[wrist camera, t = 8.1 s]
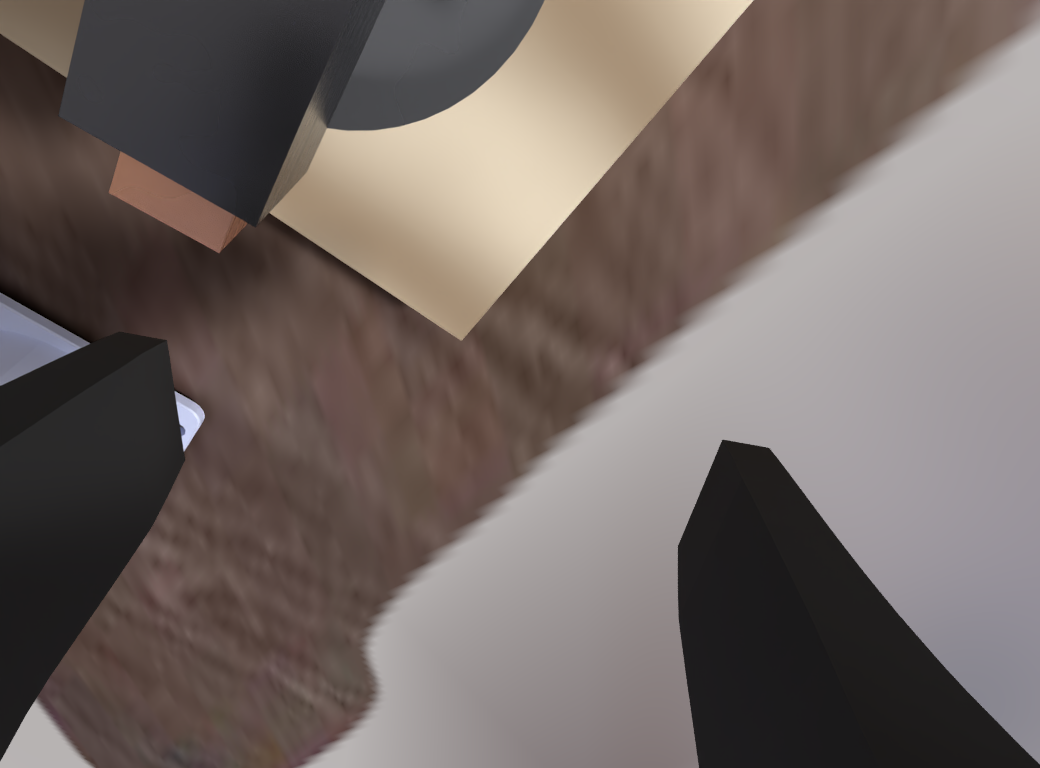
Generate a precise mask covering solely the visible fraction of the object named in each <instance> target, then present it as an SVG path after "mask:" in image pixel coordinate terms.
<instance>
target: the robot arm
mask: <svg viewBox="0 0 1040 768" xmlns="http://www.w3.org/2000/svg"><path fill="white" fill-rule="evenodd" d="M204 417H205V415H204V411H203V410H202V409H201V407H200V406H199V405H198V404H196V403H195V402H193V401H191V400H190V399H188V398H186V397H184V396H183V395H181V394H179V393H177V392H176V391H175V390H174V384H173V377H172V371H171V364H170V358H169V351H168V345H167V340H162V339H157V338H151V337H146V336H140V335H134V334H129V333H123V332H118V333H115V334H113V335H110V336H108V337H105V338H103V339H100V340H98V341H96V342H93V343H91V344H90V343H89V342H87V341H85V340H83V339H82V338H80V337H78V336H76V335H75V334H73V333H71V332H69V331H67V330H66V329H64V328H62V327H60V326H59V325H57V324H55V323H53V322H52V321H50V320H48V319H46V318H44V317H43V316H41V315H39V314H37V313H36V312H34V311H32V310H30V309H28V308H27V307H25V306H23V305H21V304H20V303H18V302H16V301H14V300H13V299H11V298H9V297H7V296H5V295H4V294H2V293H0V761H1V759H2V757H3V755H4V754H5V752H6V750H7V748H8V746H9V745H10V742H11V741H12V739H13V737H14V735H15V734H16V732H17V730H18V728H19V726H20V724H21V722H22V721H23V719H24V717H25V715H26V714H27V712H28V711H29V709H30V707H31V706H32V704H33V703H34V701H35V699H36V698H37V696H38V695H39V693H40V692H41V690H42V688H43V687H44V685H45V684H46V682H47V680H48V679H49V677H50V676H51V674H52V673H53V671H54V670H55V668H56V667H57V666H58V664H59V663H60V661H61V660H62V658H63V657H64V655H65V654H66V652H67V651H68V649H69V648H70V647H71V645H72V644H73V642H74V641H75V639H76V638H77V636H78V635H79V633H80V632H81V631H82V629H83V628H84V626H85V625H86V623H87V622H88V620H89V619H90V617H91V616H92V614H93V613H94V612H95V610H96V609H97V607H98V606H99V604H100V603H101V601H102V600H103V598H104V597H105V596H106V594H107V593H108V591H109V590H110V588H111V587H112V585H113V584H114V582H115V581H116V580H117V578H118V577H119V575H120V574H121V572H122V571H123V569H124V568H125V566H126V565H127V563H128V562H129V560H130V559H131V557H132V556H133V554H134V553H135V551H136V550H137V548H138V547H139V545H140V544H141V542H142V541H143V539H144V538H145V536H146V535H147V533H148V532H149V530H150V529H151V527H152V525H153V524H154V522H155V520H156V518H157V516H158V514H159V512H160V510H161V508H162V506H163V504H164V502H165V500H166V498H167V497H168V494H169V492H170V490H171V488H172V486H173V484H174V482H175V480H176V478H177V476H178V473H179V471H180V469H181V467H182V465H183V463H184V461H185V456H184V451H185V449H186V448H187V446H188V444H189V443H190V441H191V440H192V438H193V437H194V435H195V434H196V432H197V430H198V429H199V427H200V426H201V424H202V423H203V421H204ZM180 425H181V426H183V427H184V428H182V427H180ZM678 607H679V624H680V632H681V640H682V648H683V655H684V662H685V670H686V678H687V685H688V692H689V698H690V706H691V713H692V720H693V727H694V734H695V741H696V749H697V755H698V763H699V768H1040V764H1038V762H1037V761H1035V760H1034V759H1033V758H1032V757H1031V756H1030V755H1029V754H1028V753H1027V752H1026V751H1025V750H1024V749H1023V748H1022V747H1021V746H1020V745H1019V744H1018V743H1017V742H1016V741H1015V740H1014V739H1013V738H1012V737H1011V736H1010V735H1009V734H1008V733H1007V732H1006V731H1005V730H1004V729H1003V728H1002V727H1001V726H1000V725H999V724H998V722H997V721H995V720H994V718H993V717H992V716H991V715H990V714H989V713H988V712H987V711H986V710H985V709H984V708H982V706H981V705H980V704H979V703H978V702H977V701H976V700H975V699H974V698H973V697H972V696H971V695H970V694H969V693H968V692H967V691H966V690H965V689H964V688H963V687H962V686H961V685H960V684H959V682H958V681H957V680H956V679H955V678H954V677H953V676H952V675H951V674H950V673H949V671H948V670H946V668H945V667H944V666H943V665H942V664H941V663H940V662H939V660H938V659H937V658H936V657H935V656H934V655H933V654H932V652H931V651H930V650H929V649H928V648H927V647H926V646H925V644H924V643H923V642H922V641H921V640H920V639H919V637H918V636H916V634H915V633H914V632H913V631H912V630H911V628H910V627H909V626H908V625H907V624H906V623H905V621H904V620H903V619H902V618H901V617H900V616H899V615H898V613H897V612H896V611H895V610H894V609H893V607H892V606H891V605H890V604H889V603H888V601H887V600H886V599H885V598H884V596H882V594H881V593H880V592H879V590H878V589H877V588H876V587H875V585H874V584H873V583H872V582H871V580H870V579H869V578H868V577H867V575H866V574H865V573H864V572H863V570H862V569H861V568H860V567H859V565H858V564H857V563H856V562H855V560H854V559H853V558H852V556H851V555H850V554H849V553H848V551H847V550H846V549H845V548H844V546H843V545H842V543H841V542H840V541H839V540H838V538H837V537H836V536H835V535H834V533H833V532H832V530H831V529H830V528H829V526H828V525H827V524H826V522H825V521H824V520H823V518H822V517H821V516H820V514H819V513H818V512H817V511H816V509H815V508H814V506H813V505H812V504H811V503H810V501H809V500H808V498H807V497H806V496H805V494H804V493H803V492H802V490H801V489H800V488H799V486H798V485H797V484H796V482H795V481H794V480H793V478H792V477H791V476H790V474H789V473H788V472H787V470H786V469H785V468H784V466H783V465H782V464H781V462H780V461H779V460H778V459H777V457H776V456H775V455H774V454H773V452H772V451H771V450H770V449H769V448H766V447H760V446H755V445H750V444H744V443H738V442H733V441H727V440H722V442H721V445H720V447H719V450H718V452H717V454H716V457H715V459H714V462H713V464H712V466H711V469H710V471H709V474H708V476H707V478H706V481H705V483H704V485H703V488H702V490H701V492H700V495H699V497H698V500H697V502H696V504H695V507H694V509H693V512H692V514H691V516H690V519H689V521H688V524H687V526H686V529H685V531H684V533H683V536H682V538H681V540H680V543H679V545H678Z"/></svg>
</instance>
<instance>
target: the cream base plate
mask: <svg viewBox="0 0 1040 768" xmlns="http://www.w3.org/2000/svg"><path fill="white" fill-rule="evenodd" d="M84 1H85V0H0V34H2V35H3V36H5V37H6V38H8V39H9V40H11V41H12V42H14V43H15V44H17V45H18V46H20V47H21V48H23V49H24V50H26V51H27V52H29V53H30V54H32V55H33V56H35V57H36V58H38V59H39V60H41V61H42V62H44V63H45V64H47V65H48V66H50V67H51V68H53V69H54V70H56V71H57V72H59V73H60V74H62V75H63V76H65V77H66V78H67V76H68V71H69V67H70V62H71V58H72V54H73V49H74V45H75V40H76V36H77V32H78V27H79V23H80V18H81V14H82V10H83V5H84ZM752 1H753V0H545V1H544V3H543V5H542V7H541V9H540V11H539V13H538V15H537V17H536V19H535V21H534V23H533V25H532V26H531V28H530V29H529V31H528V32H527V34H526V35H525V37H524V38H523V40H522V41H521V43H520V44H519V46H518V47H517V49H516V50H515V52H514V53H513V54H512V55H511V56H510V57H509V59H508V60H507V61H506V62H505V63H504V64H503V65H502V67H501V68H500V69H499V70H498V71H497V72H496V73H495V74H494V75H493V76H492V77H491V78H490V79H489V80H487V81H486V82H485V83H484V84H483V85H482V86H481V87H479V88H478V89H477V90H476V91H475V92H474V93H472V94H471V95H469V96H468V97H466V98H464V99H463V100H461V101H460V102H458V103H457V104H455V105H454V106H452V107H450V108H449V109H446V110H444V111H442V112H440V113H438V114H435V115H433V116H431V117H429V118H427V119H424V120H421V121H417V122H414V123H411V124H407V125H404V126H400V127H394V128H387V129H380V130H373V131H345V130H337V129H330V128H327V129H326V132H325V134H324V136H323V138H322V140H321V142H320V145H319V147H318V149H317V151H316V153H315V156H314V158H313V160H312V162H311V164H310V166H309V169H308V171H307V173H306V174H305V175H304V176H303V177H302V178H301V179H300V180H299V181H298V182H297V184H296V185H295V186H294V187H293V188H292V189H291V190H290V191H289V192H288V193H287V194H286V195H285V196H284V197H283V199H282V200H281V201H280V202H279V203H278V204H277V205H276V206H275V207H274V208H273V209H272V210H271V211H270V212H269V213H270V214H272V215H273V216H275V217H276V218H278V219H279V220H281V221H282V222H284V223H285V224H287V225H288V226H290V227H291V228H293V229H294V230H296V231H297V232H299V233H300V234H302V235H303V236H305V237H306V238H308V239H309V240H311V241H312V242H314V243H315V244H317V245H318V246H320V247H321V248H323V249H324V250H326V251H327V252H329V253H330V254H332V255H333V256H335V257H336V258H338V259H339V260H341V261H342V262H344V263H345V264H347V265H348V266H350V267H351V268H353V269H354V270H356V271H357V272H359V273H360V274H362V275H363V276H365V277H366V278H368V279H369V280H371V281H372V282H374V283H375V284H377V285H378V286H380V287H381V288H383V289H384V290H386V291H387V292H389V293H390V294H392V295H393V296H395V297H396V298H398V299H399V300H401V301H402V302H404V303H405V304H407V305H408V306H410V307H411V308H413V309H414V310H416V311H417V312H419V313H420V314H422V315H423V316H425V317H426V318H428V319H429V320H431V321H432V322H434V323H435V324H437V325H438V326H440V327H441V328H443V329H444V330H446V331H447V332H449V333H450V334H452V335H453V336H455V337H456V338H458V339H459V340H461V341H462V340H463V338H464V337H465V336H466V335H467V334H468V333H469V331H470V330H471V329H472V328H473V327H474V326H475V324H476V323H477V322H478V321H479V320H480V319H481V317H482V316H483V315H484V314H485V313H486V312H487V310H488V309H489V308H490V307H491V306H492V305H493V303H494V302H495V301H496V300H497V299H498V298H499V296H500V295H501V294H502V293H503V292H504V291H505V289H506V288H507V287H508V286H509V285H510V284H511V282H512V281H513V280H514V279H515V278H516V277H517V275H518V274H519V273H520V272H521V271H522V270H523V268H524V267H525V266H526V265H527V264H528V263H529V261H530V260H531V259H532V258H533V257H534V256H535V254H536V253H537V252H538V251H539V250H540V249H541V247H542V246H543V245H544V244H545V243H546V242H547V240H548V239H549V238H550V237H551V236H552V235H553V233H554V232H555V231H556V230H557V229H558V228H559V226H560V225H561V224H562V223H563V222H564V221H565V219H566V218H567V217H568V216H569V215H570V214H571V212H572V211H573V210H574V209H575V208H576V207H577V205H578V204H579V203H580V202H581V201H582V200H583V198H584V197H585V196H586V195H587V194H588V193H589V191H590V190H591V189H592V188H593V187H594V186H595V184H596V183H597V182H598V181H599V180H600V179H601V177H602V176H603V175H604V174H605V173H606V172H607V170H608V169H609V168H610V167H611V166H612V165H613V163H614V162H615V161H616V160H617V159H618V158H619V156H620V155H621V154H622V153H623V152H624V151H625V149H626V148H627V147H628V146H629V145H630V144H631V142H632V141H633V140H634V139H635V138H636V137H637V135H638V134H639V133H640V132H641V131H642V130H643V128H644V127H645V126H646V125H647V124H648V123H649V121H650V120H651V119H652V118H653V117H654V116H655V114H656V113H657V112H658V111H659V110H660V109H661V107H662V106H663V105H664V104H665V103H666V102H667V100H668V99H669V98H670V97H671V96H672V95H673V93H674V92H675V91H676V90H677V89H678V88H679V86H680V85H681V84H682V83H683V82H684V81H685V79H686V78H687V77H688V76H689V75H690V74H691V72H692V71H693V70H694V69H695V68H696V67H697V65H698V64H699V63H700V62H701V61H702V60H703V58H704V57H705V56H706V55H707V54H708V53H709V51H710V50H711V49H712V48H713V47H714V46H715V44H716V43H717V42H718V41H719V40H720V39H721V37H722V36H723V35H724V34H725V33H726V32H727V30H728V29H729V28H730V27H731V26H732V25H733V23H734V22H735V21H736V20H737V19H738V18H739V16H740V15H741V14H742V13H743V12H744V11H745V9H746V8H747V7H748V6H749V5H750V4H751V2H752Z"/></svg>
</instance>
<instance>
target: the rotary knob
mask: <svg viewBox="0 0 1040 768" xmlns="http://www.w3.org/2000/svg"><path fill="white" fill-rule="evenodd" d="M544 1H545V0H85V1H84V5H83V10H82V14H81V18H80V23H79V27H78V32H77V36H76V40H75V45H74V49H73V54H72V58H71V62H70V67H69V71H68V76H67V80H66V84H65V89H64V93H63V98H62V102H61V106H60V111H59V115H58V116H59V117H61V118H63V119H64V120H66V121H68V122H70V123H72V124H73V125H75V126H77V127H79V128H80V129H82V130H84V131H86V132H88V133H89V134H91V135H93V136H95V137H96V138H98V139H100V140H102V141H103V142H105V143H107V144H109V145H111V146H112V147H114V148H116V149H118V150H119V151H121V152H120V156H119V159H118V163H117V166H116V170H115V173H114V177H113V180H112V183H111V187H110V190H109V193H110V194H112V195H114V196H116V197H117V198H119V199H121V200H123V201H125V202H127V203H128V204H130V205H132V206H134V207H136V208H138V209H139V210H141V211H143V212H145V213H147V214H148V215H150V216H152V217H154V218H156V219H158V220H159V221H161V222H163V223H165V224H167V225H169V226H170V227H172V228H174V229H176V230H178V231H179V232H181V233H183V234H185V235H187V236H189V237H190V238H192V239H194V240H196V241H198V242H200V243H201V244H203V245H205V246H207V247H209V248H210V249H212V250H214V251H216V252H218V253H220V252H221V251H222V250H223V249H224V248H225V247H226V246H227V244H228V243H229V242H230V241H231V240H232V239H233V238H234V237H235V236H236V235H237V234H238V233H239V232H240V231H241V230H242V229H243V228H244V227H245V226H246V225H247V223H249V224H250V225H252V226H254V227H256V226H257V225H258V224H259V223H260V222H261V221H262V220H263V219H264V218H265V217H266V216H267V215H268V214H269V212H270V211H271V210H272V209H273V208H274V207H275V206H276V205H277V204H278V203H279V202H280V201H281V200H282V199H283V197H284V196H285V195H286V194H287V193H288V192H289V191H290V190H291V189H292V188H293V187H294V186H295V185H296V184H297V182H298V181H299V180H300V179H301V178H302V177H303V176H304V175H305V174H306V173H307V171H308V169H309V166H310V164H311V162H312V160H313V158H314V156H315V153H316V151H317V149H318V147H319V145H320V142H321V140H322V138H323V136H324V134H325V132H326V129H327V128H330V129H337V130H345V131H373V130H380V129H387V128H394V127H400V126H404V125H407V124H411V123H414V122H417V121H421V120H424V119H427V118H429V117H431V116H433V115H435V114H438V113H440V112H442V111H444V110H446V109H449V108H450V107H452V106H454V105H455V104H457V103H458V102H460V101H461V100H463V99H464V98H466V97H468V96H469V95H471V94H472V93H474V92H475V91H476V90H477V89H478V88H479V87H481V86H482V85H483V84H484V83H485V82H486V81H487V80H489V79H490V78H491V77H492V76H493V75H494V74H495V73H496V72H497V71H498V70H499V69H500V68H501V67H502V65H503V64H504V63H505V62H506V61H507V60H508V59H509V57H510V56H511V55H512V54H513V53H514V52H515V50H516V49H517V47H518V46H519V44H520V43H521V41H522V40H523V38H524V37H525V35H526V34H527V32H528V31H529V29H530V28H531V26H532V25H533V23H534V21H535V19H536V17H537V15H538V13H539V11H540V9H541V7H542V5H543V3H544Z"/></svg>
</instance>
